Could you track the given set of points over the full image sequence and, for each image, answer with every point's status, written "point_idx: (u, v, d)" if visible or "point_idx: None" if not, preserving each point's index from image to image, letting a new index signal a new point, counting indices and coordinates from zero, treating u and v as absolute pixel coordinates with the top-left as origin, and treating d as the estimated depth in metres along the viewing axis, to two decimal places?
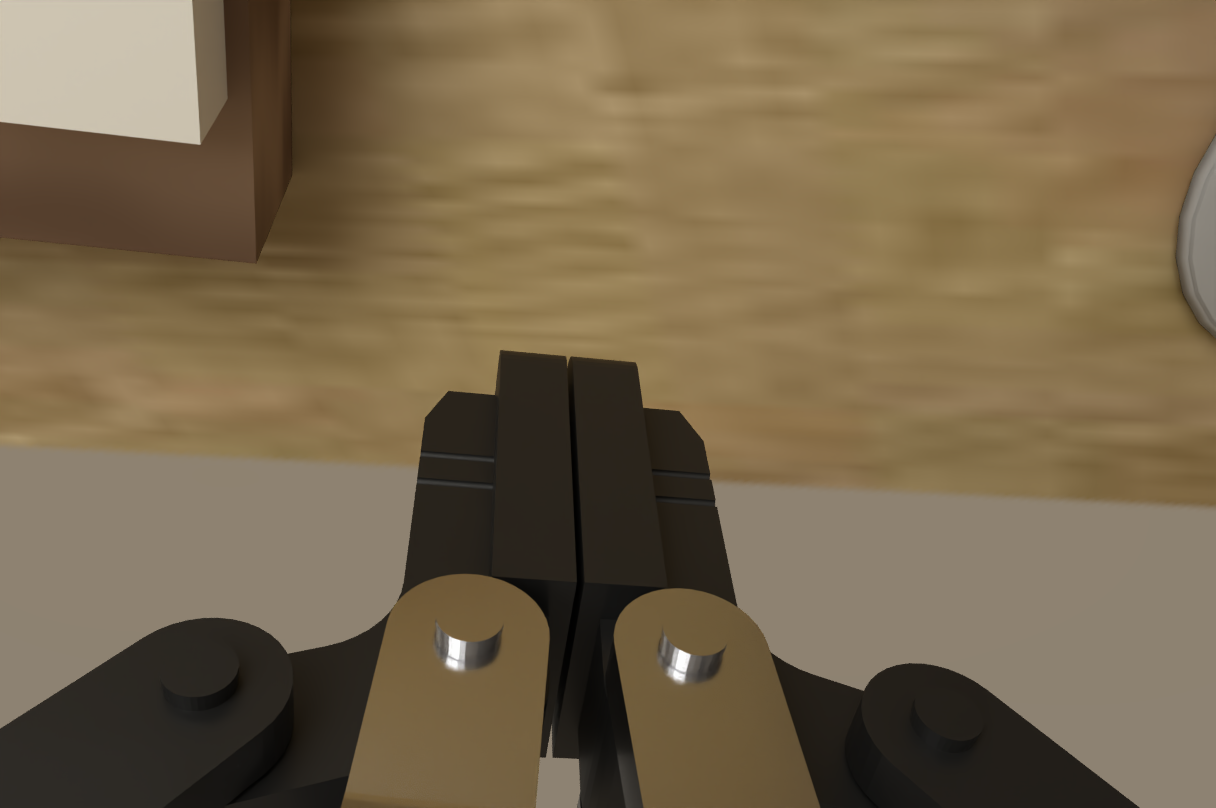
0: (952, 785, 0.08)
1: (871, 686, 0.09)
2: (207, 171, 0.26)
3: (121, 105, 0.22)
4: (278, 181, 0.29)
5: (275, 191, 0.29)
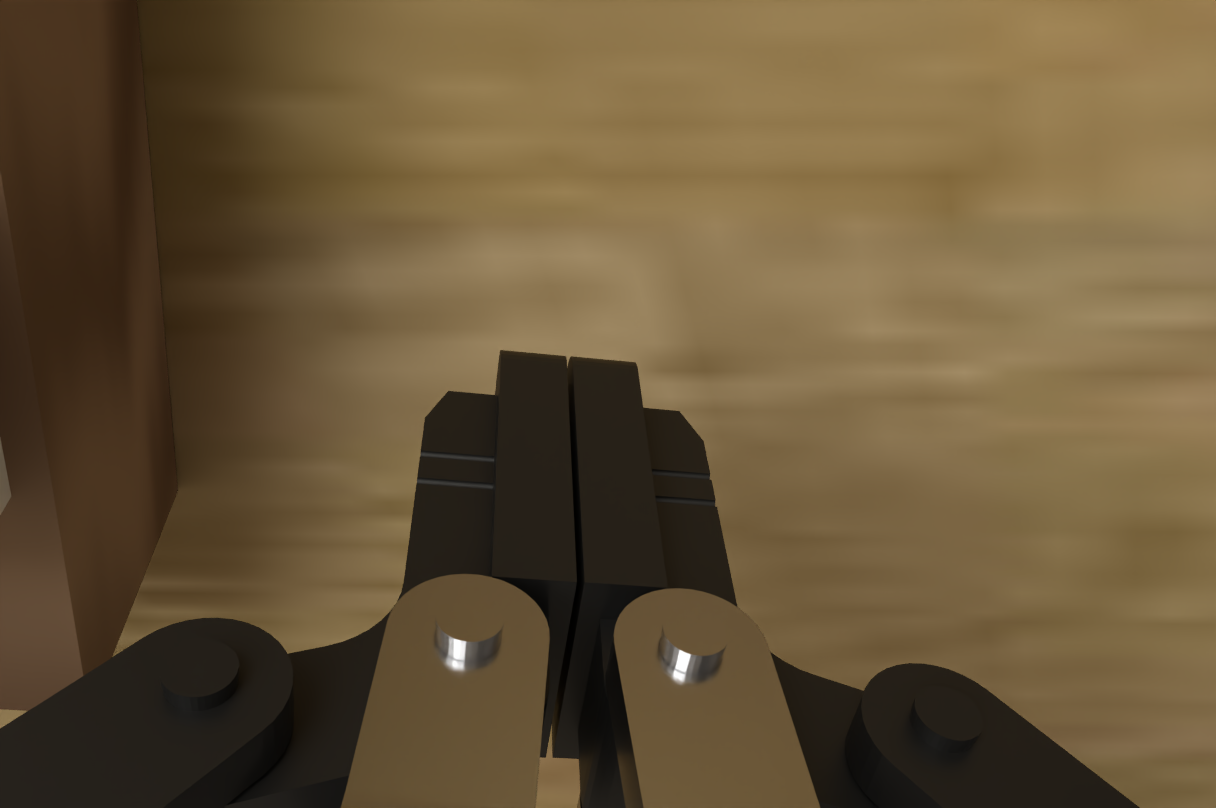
0: (952, 785, 0.08)
1: (871, 686, 0.09)
2: None
3: None
4: (143, 535, 0.18)
5: (136, 557, 0.18)
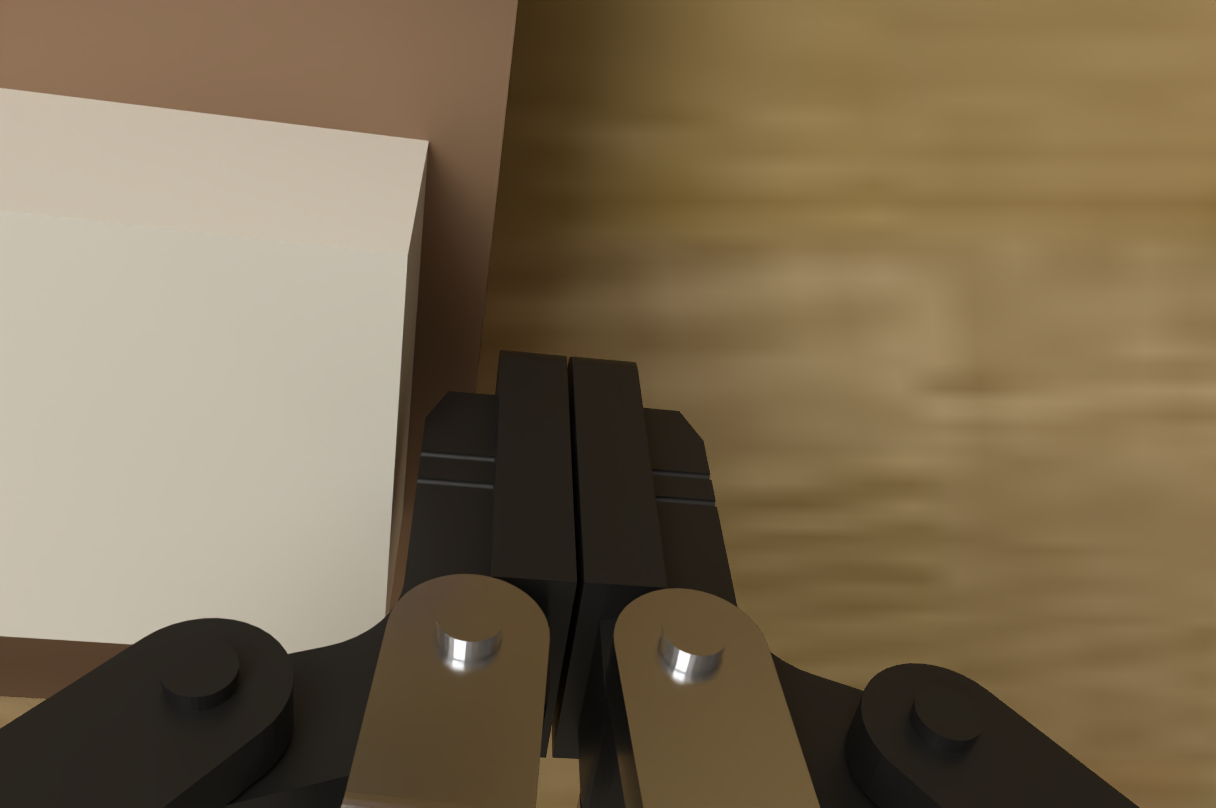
0: (952, 785, 0.08)
1: (871, 686, 0.09)
2: None
3: (244, 610, 0.12)
4: None
5: None
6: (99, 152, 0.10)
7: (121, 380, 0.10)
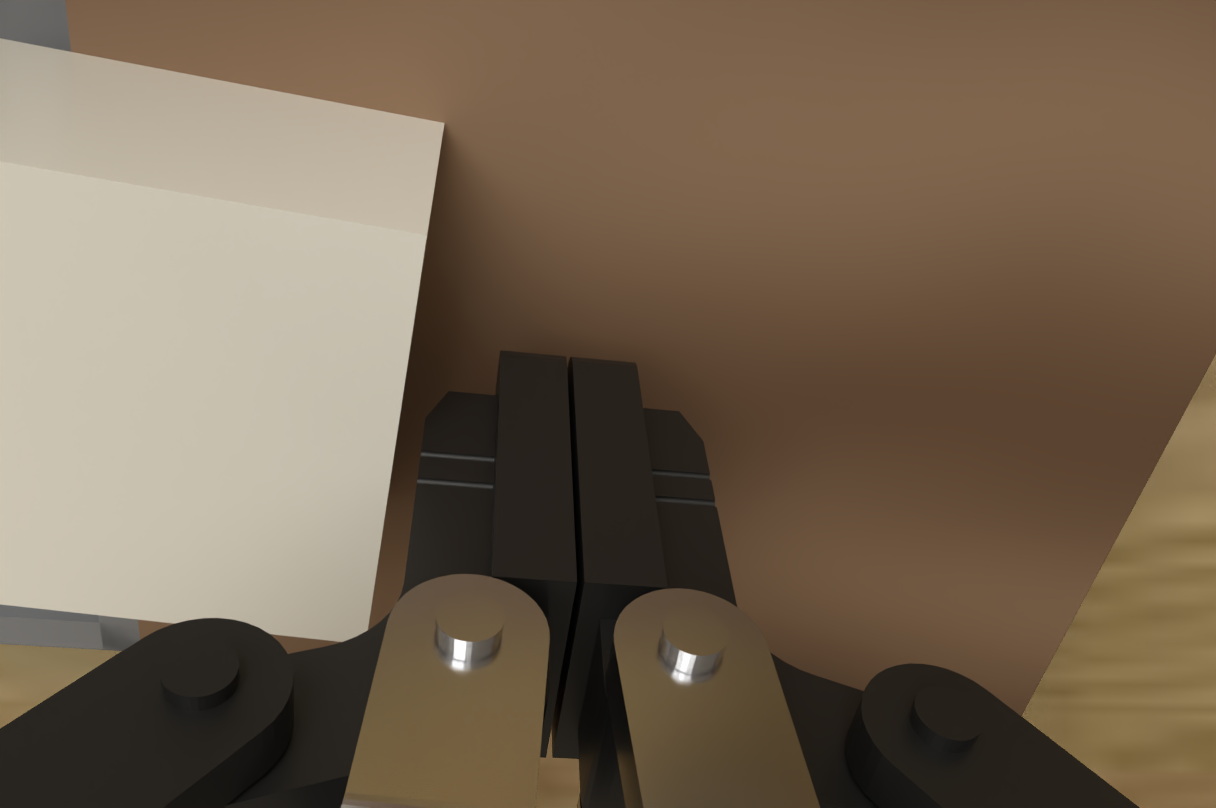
0: (952, 785, 0.08)
1: (871, 686, 0.09)
2: (989, 652, 0.17)
3: (229, 587, 0.12)
4: None
5: None
6: (113, 112, 0.10)
7: (122, 344, 0.10)
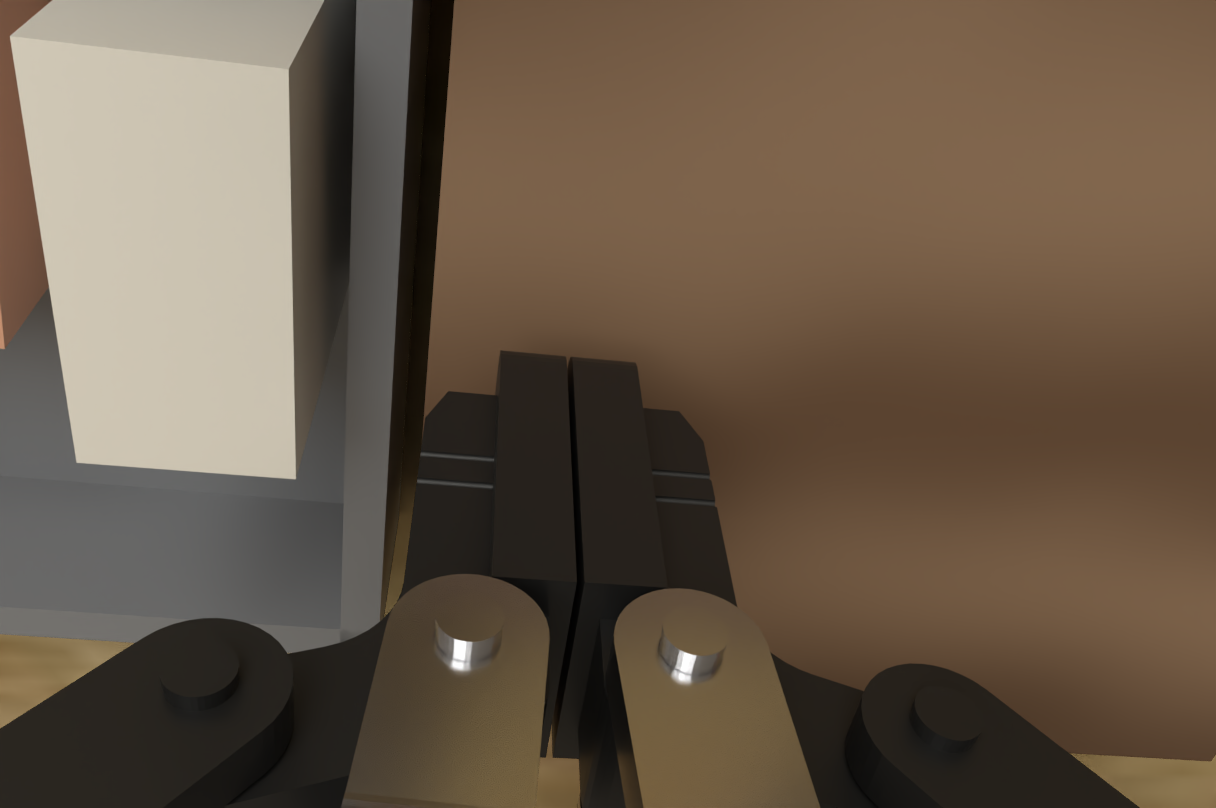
0: (951, 785, 0.08)
1: (870, 686, 0.09)
2: None
3: None
4: None
5: None
6: None
7: None
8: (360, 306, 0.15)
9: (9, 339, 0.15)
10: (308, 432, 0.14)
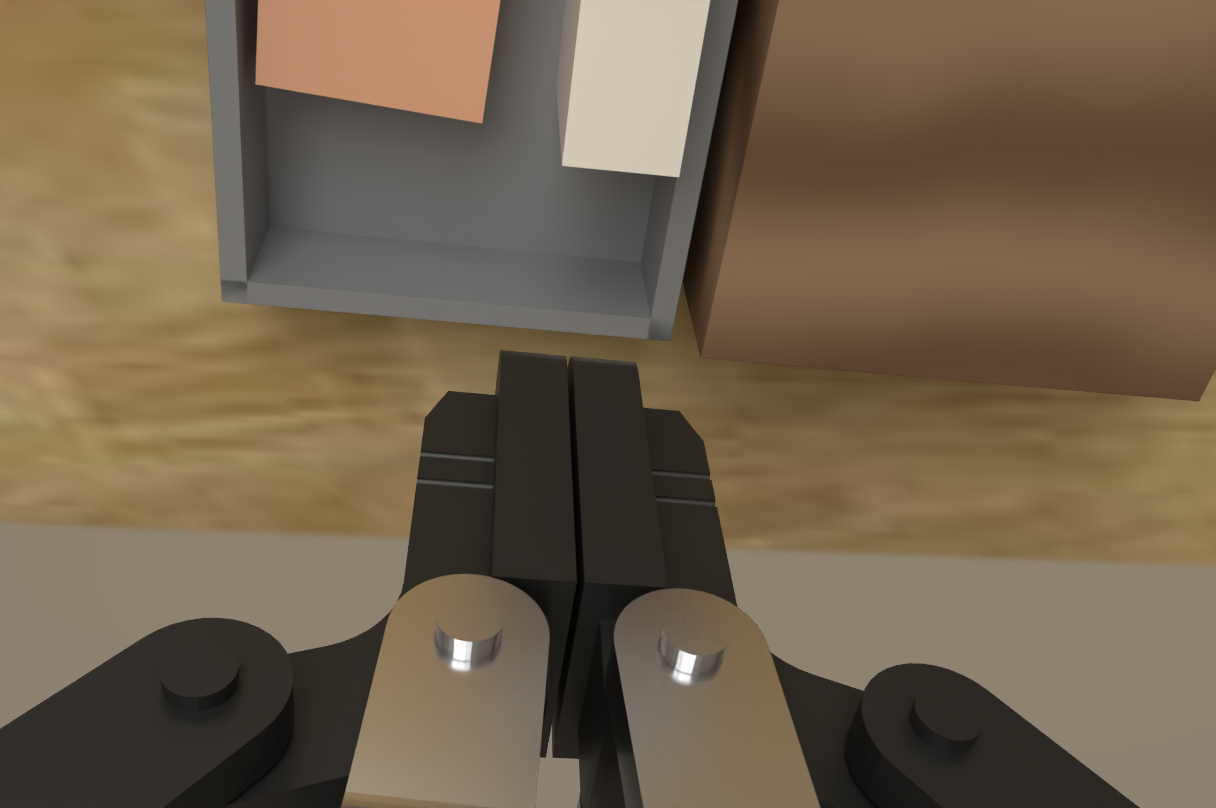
0: (952, 785, 0.08)
1: (871, 686, 0.09)
2: (1199, 322, 0.28)
3: (562, 111, 0.25)
4: None
5: None
6: None
7: None
8: (700, 89, 0.25)
9: (482, 118, 0.26)
10: None
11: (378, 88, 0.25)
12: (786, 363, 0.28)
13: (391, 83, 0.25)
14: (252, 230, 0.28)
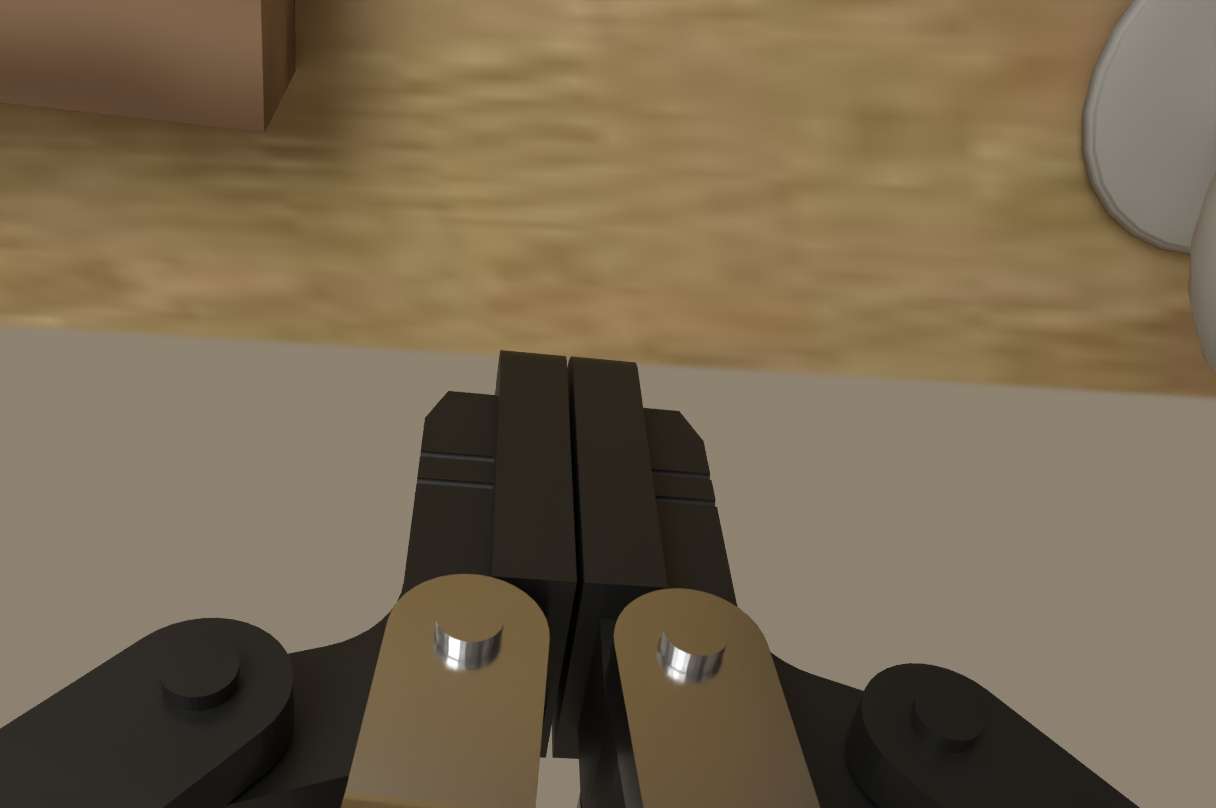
0: (952, 785, 0.08)
1: (871, 686, 0.09)
2: (222, 47, 0.30)
3: None
4: (283, 69, 0.33)
5: (280, 77, 0.33)
6: None
7: None
8: None
9: None
10: None
11: None
12: None
13: None
14: None
